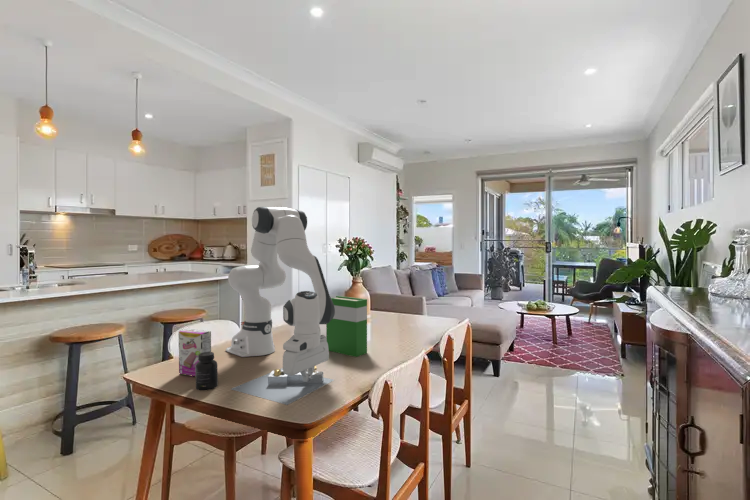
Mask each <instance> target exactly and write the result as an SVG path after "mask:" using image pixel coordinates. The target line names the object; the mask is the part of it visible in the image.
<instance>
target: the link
mask: <svg viewBox="0 0 750 500" xmlns="http://www.w3.org/2000/svg"><path fill="white" fill-rule="evenodd" d="M274 370H275V369H273V370H271V372H269V373H270V374H269V373H268V374H269V376H268V385H287V384H288V383H323V377H324V371H315V372H313V374H312V380H309V381H307V382H303V376H302V374H301V373H297V374H295V375H293V376H290V375H286V374H284V372H283V370H281V375H274Z"/></svg>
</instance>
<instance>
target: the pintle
mask: <svg viewBox="0 0 750 500" xmlns="http://www.w3.org/2000/svg"><path fill="white" fill-rule="evenodd" d="M273 370H274V375H281V368H275V369H273Z"/></svg>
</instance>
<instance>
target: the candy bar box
mask: <svg viewBox="0 0 750 500" xmlns="http://www.w3.org/2000/svg"><path fill="white" fill-rule="evenodd" d="M204 352H212V331H210V330H203V329H195V328H186V329H181V330H179V331H178V374H179V373H180V374H186V375H192V376H191V377H193V376H196V374H195V366H196V364H197V363H198V362H199V361H198V355H199V354H200V353H204ZM180 374H179V375H180ZM186 375H185V376H186Z"/></svg>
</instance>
